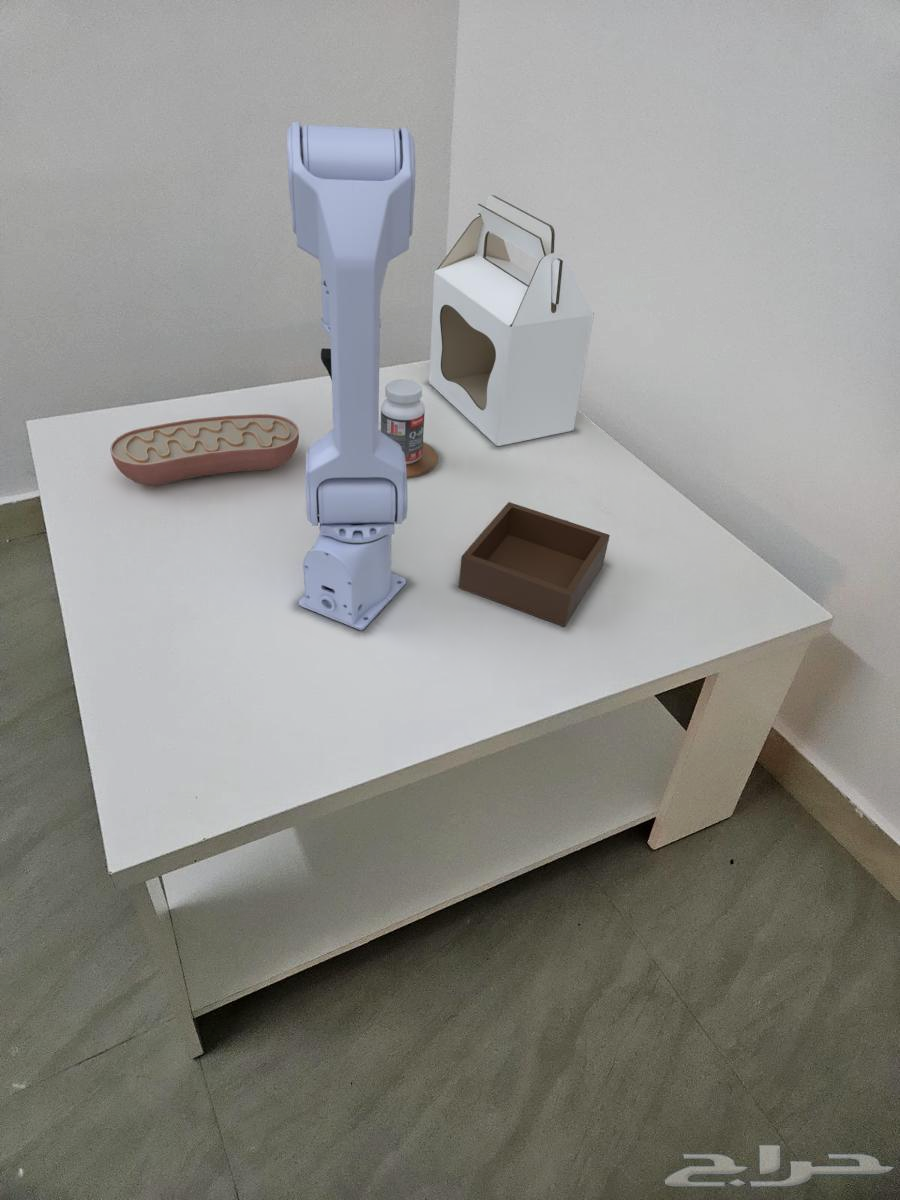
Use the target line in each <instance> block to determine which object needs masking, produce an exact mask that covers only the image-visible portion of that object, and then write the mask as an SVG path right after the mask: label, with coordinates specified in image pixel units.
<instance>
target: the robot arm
mask: <svg viewBox="0 0 900 1200" xmlns="http://www.w3.org/2000/svg"><path fill="white" fill-rule="evenodd" d="M415 147H416V144H415V138H414V135H413V134H412V133H411V132H410V131H409V129H408V127H406V126H400V127H399V128H384V127H383V128H381V127H363V126H361V127H360V126H342V125H341V126H339V125H338V126H337V125H321V124H319V125H318V124H302V125H301V122H300V121H293V122H292V123H291V126H289V128H287V130H286V159H287V178H288V180H287V181H288V193H289V203H290V206H291V223H292V224H291V225H292V231H293V233H294V234H295V235H296V247H297V248H299V249H300V250H302V251H303V252H306V253H307V254H309V255H310V256H312V257H314V258H315V259H317V260H318V262H319V265H320V283H321V287H320V288H321V313H322V314H321V315H322V316H321V318H320V326H321V328H322V330H323V331H324V333H325V334H326V335H327V336H328V338H329V339H330V348H326V347H325V348H324V347H323V348H321V350H320V360H321V362H322V365H323V366H324V367H325V369H326V371H327V373H328V375H329V377H330V380H331V396H332V397H331V400H332V429H331V430H329V431H328V432H327V433H325V434H324V435H322V436H321V437H320V438H318V439H317V440H315V441H314V442H312V443H311V444H310V445H309V446H308V451H307V452H306V453H305V470H304V471H305V472H304V474H305V478H304V479H305V481H304V482H305V485H304V486H305V505H306V506H305V508H306V519H307V521H308V522H309V523H311V526H313V527H317V526H319V533H318V536H317V539H316V541H315V543H314V544H313V546H312V547H311V548H310V550H308V551H307V553H306V554H305V556H304V558H303V565H302V568H303V580H304V595H303V596H302V597H301V598H300V599H299V601H298V604H299V606H300V607H302V608H305V609H307V610H310V611H312V612H315V613H317V614H320V615H322V616H325V617H326V618H329V619H332V620H334V621H336V622H340V623H342V624H345V625H347V626H349V627H351V628H354V629H356V630H360V631H362V630H365V628H366V627H367V626H368V625H369V624H371V622H372V621H373V620H374V619H375V618H376V617H377V615H379V613H380V612H381V611H382V610H384V607H386V606H387V605H388V604H389V602H390V601H391V600H392V599H393V598H394V597H395V596H396V595H397V594H398V593H399V591H401V589H402V588H404V586H405V585H406V584H407V578H405V577H403V576H400V575H397V574H395V573H393V572H392V544H393V543H392V540H393V535H394V534H395V525H402V524H403V522H404V521H405V520H406V519H407V517H408V516H407V515H408V478H407V475H406V461H405V455H404V452H403V451H402V448H401V446H400V445H399V444H398V443H397V442H395V441H394V440H392V439H391V438H389V437H388V436H386V435H385V434H383V433H382V432H381V430H380V429H379V428H380V427H379V424H380V423H379V417H380V355H381V353H380V352H381V351H380V350H381V329H382V319H381V296H382V291H383V286H384V282H385V278H386V274H387V269H388V266H389V263H390V261H392V260H393V259H395V258H398V257H399V256H400V255H402V254H403V253H405V252H407V251H408V250H409V249H410V237H411V236H412V235H413V228H414V208H415V207H414V206H415V193H416V148H415Z"/></svg>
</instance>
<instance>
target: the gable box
mask: <svg viewBox="0 0 900 1200" xmlns="http://www.w3.org/2000/svg"><path fill="white" fill-rule="evenodd" d="M477 208H478V210H479V213H476V217H475V218H474V219H472V220H471V222H470V223H469V224H468V226H467V227H466V229H465V230H464V231H463V232H462V234H461V235H460V237H459V238H458V240H457V241H456V242H455V244H454V245H453V246H452V248H451V249H450V251H449V252H448V254H447V255H446V256H445V257H444V259H443V260H442V261H441V263H440V265H438V267H437V269H435V271H434V273H433V274H434V275H433V292H432V293H433V294H432V314H431V333H430V334H431V336H430V355H429V375H428V376H429V377H428V383H429V385H431V386H432V387H433V388H434V389H435V390H436V391H438V393H440V394H441V395H442V396H443V398H445V399H446V400H447V401H448V402H449V403H450V404H451V405H452V406H453V407H455V409H456V410H458V411H459V412H460V413H461V414H462V415H463V416H464V417H465V418H466V419H467V420H468V421H469V422H470V423H471V424H473V425H474V426H475V428H477V429H478V430H479V431H480V432H481V433H482V434H483V435H484V436H485V437H487V438H488V439H489V441H491V442H492V443H493V444H494V445H495V446H496V447H502V446H506V445H511V444H517V443H520V442H524V441H530V440H535V439H540V438H545V437H549V436H555V435H559V434H563V433H568V432H573V431H574V429H575V424H576V419H577V414H578V407H579V402H580V397H581V391H582V384H583V379H584V373H585V367H586V362H587V356H588V351H589V345H590V338H591V333H592V329H593V322H594V316H595V313H594V312H593V310H592V308H591V305H590V303H589V302H588V300H587V298H586V296H585V294H584V292H583V289H582V287H581V285H580V283H579V281H578V279H577V277H576V275H575V273H574V271H573V268H572V267H571V265H570V262H569V260H568V259H567V258H566V256H564V255H563V254H561V253H559V252H555V240H556V238H555V237H556V234H555V233H556V232H555V229H554V226H552V225H551V224H550V223H548V222H546V221H544V220H542V219H540V218H538V217H536V216H534V215H533V214H531V213H529V212H527V211H525V210H522V209H521V208H519V207H517V206H516V205H513V204H512V203H510V202H508V201H506V200H504V199H502V198H500V197H498V196H497V195H495V194H491V195H489V196H488V197H487V200H486V205H485V206H484V205H483V204H481V203H478V204H477ZM505 242H507V243H508V244H510V245H512V246H513V247H515V248H516V249H518V250H520V251H521V252H523V253H524V254H527V255H528V256H530V257H531V258H533V259H534V260H537V261H538V263H537V266H536V268H535V269H534V272H533V274H532V273H530V272H529V271H526V270H525V269H523V268H522V267H520V266H518V264H516V263H514V262H511V259H510V256H509V252H508V249H507V246H506V243H505Z"/></svg>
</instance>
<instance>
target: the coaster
mask: <svg viewBox="0 0 900 1200" xmlns="http://www.w3.org/2000/svg"><path fill="white" fill-rule="evenodd" d="M437 464H438V453H437V451H436V450H435V449H434V448H433V447H432V446H431V445H429V444H428V443H427V442H424V441H423V453H422V456H421V458H420V459H419V460H418V461H416V462H414V463H411V464H406V475H407V479H411V478H417V477H420V476H424V475H426V474H429V473H430V472H431V471H433V470H434V469H435V468H436V466H437Z"/></svg>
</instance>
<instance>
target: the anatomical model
mask: <svg viewBox="0 0 900 1200" xmlns="http://www.w3.org/2000/svg"><path fill="white" fill-rule="evenodd" d="M299 440H300V430H299V426H298V425H297V423H295V422H294V421H293V420H291V419H289V418H287V417H284V416H281V415H277V414H268V413H263V414H262V413H257V414H254V413H253V414H235V415H221V416H220V415H219V416H209V417H199V418H192V419H185V420H178V421H174V422H173V421H172V422H166V423H162V424H156V425H152V426H146V427H140V428H137V429H132V430H129V431H127V432H125V433H123V434H120V435H119V436H117V437H116V438H115V439H114V440H113V441H112V442H111V444H110V449H109V451H110V455H111V458H112V461H113V463H114V465H115V467H116V468H117V469H118V471H119V472H120V473H121V474H122V475H123V476H124V477H126V478H127V479H128V480H130V481H132V482H135V483H137V484H139V485H145V486H159V485H164V484H168V483H173V482H177V481H182V480H186V479H187V480H188V479H192V478H198V477H203V476H210V475H218V474H224V473H225V474H226V473H227V474H228V473H233V472H235V473H236V472H248V471H262V470H273V469H276V468H279V467H281V466H283V465H285V463H287V462H288V461H289V460H290V459H291V458H292V457H293V455H294V454H295V452H296V450H297V448H298V444H299Z"/></svg>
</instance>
